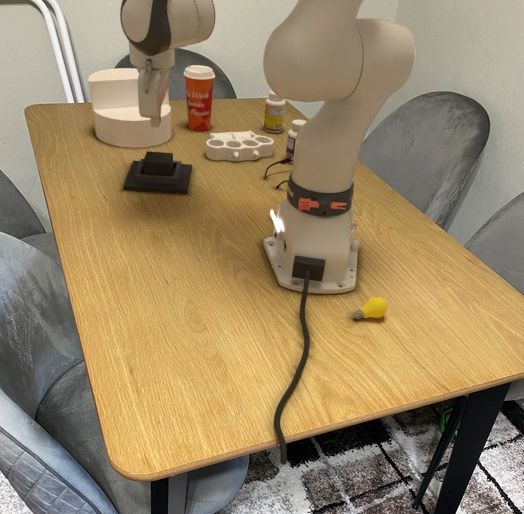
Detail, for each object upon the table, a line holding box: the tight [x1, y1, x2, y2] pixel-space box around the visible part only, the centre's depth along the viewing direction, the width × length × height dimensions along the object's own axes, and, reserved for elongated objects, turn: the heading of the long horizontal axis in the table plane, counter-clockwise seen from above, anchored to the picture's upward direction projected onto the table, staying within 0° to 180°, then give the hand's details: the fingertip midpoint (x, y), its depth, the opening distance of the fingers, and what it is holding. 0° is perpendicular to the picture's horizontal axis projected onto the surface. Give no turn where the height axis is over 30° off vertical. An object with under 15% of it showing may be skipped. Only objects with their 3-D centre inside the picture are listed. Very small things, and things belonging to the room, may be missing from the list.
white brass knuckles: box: [205, 130, 275, 163], centre depth 135 cm, size 3×18×15 cm
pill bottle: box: [284, 119, 308, 165], centre depth 132 cm, size 5×5×10 cm
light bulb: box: [352, 296, 388, 320], centre depth 87 cm, size 3×6×4 cm, turn 110°
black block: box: [143, 150, 174, 176], centre depth 119 cm, size 6×6×4 cm
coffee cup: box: [183, 64, 216, 132], centre depth 142 cm, size 8×8×15 cm
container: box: [88, 67, 173, 149], centre depth 135 cm, size 20×20×13 cm
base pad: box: [122, 158, 193, 195], centre depth 120 cm, size 14×14×2 cm
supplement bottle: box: [263, 90, 287, 134], centre depth 146 cm, size 6×6×10 cm
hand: (156, 125), depth 113 cm, fingers closed
